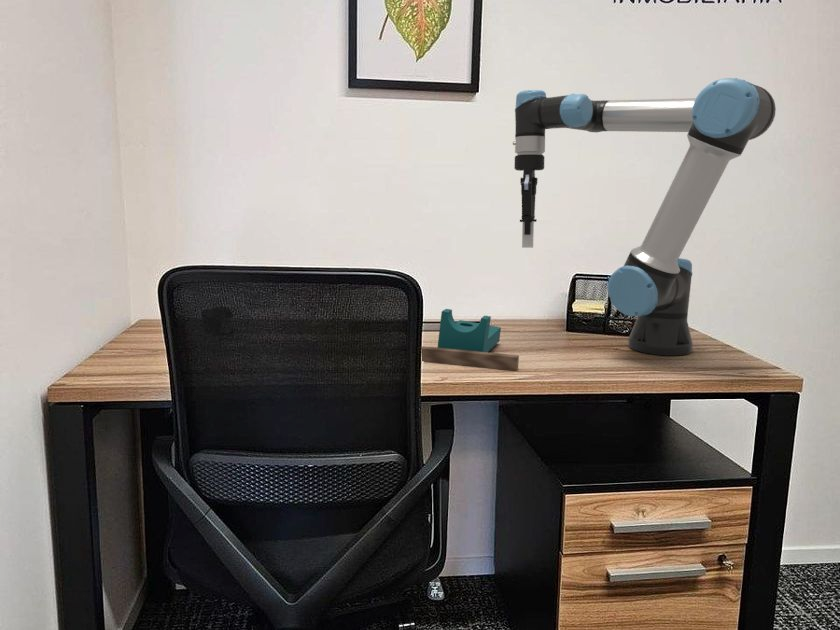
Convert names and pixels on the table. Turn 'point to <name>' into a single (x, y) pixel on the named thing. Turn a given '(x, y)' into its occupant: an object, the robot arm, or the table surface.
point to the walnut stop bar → (470, 358)
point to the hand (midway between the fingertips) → (527, 247)
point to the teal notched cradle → (467, 334)
